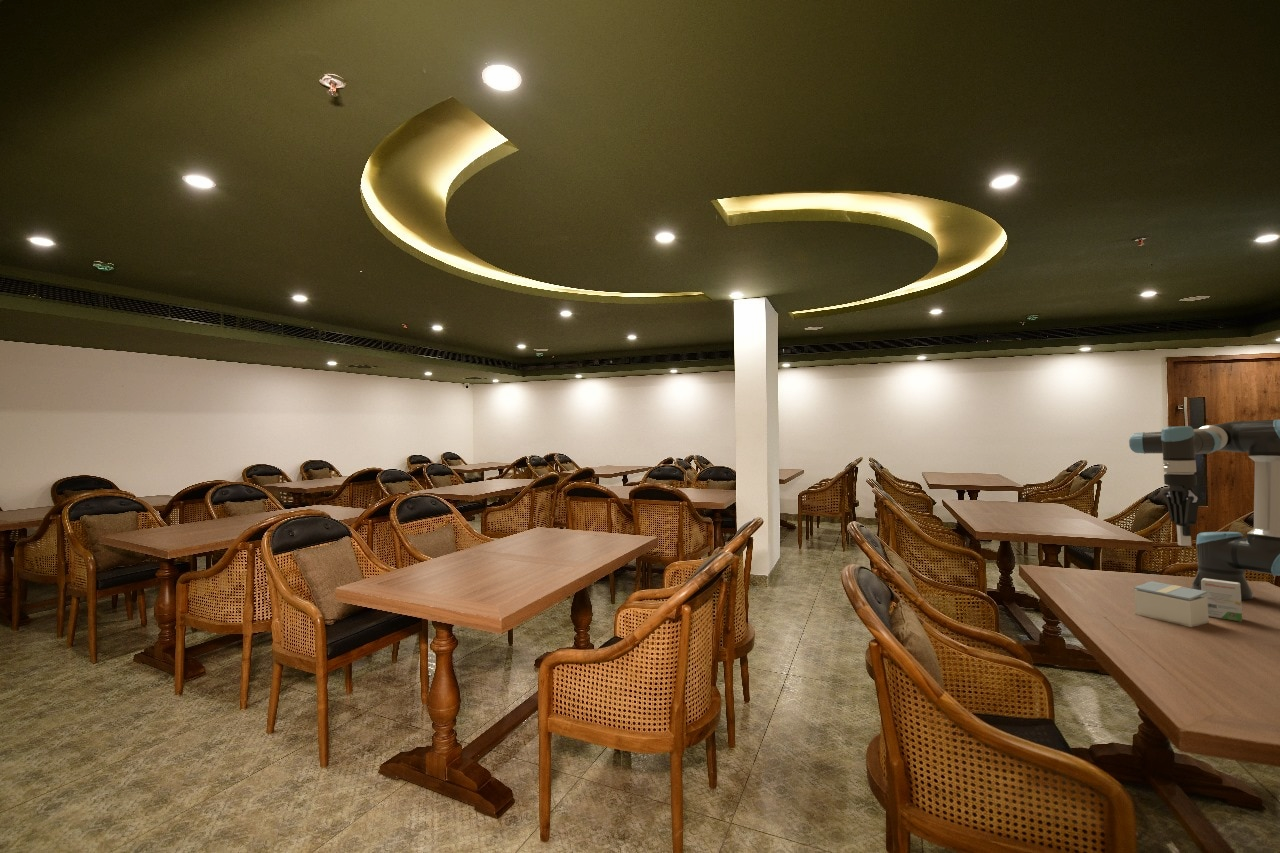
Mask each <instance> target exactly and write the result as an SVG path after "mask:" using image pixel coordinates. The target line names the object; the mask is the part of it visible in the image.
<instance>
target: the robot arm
mask: <svg viewBox="0 0 1280 853" xmlns="http://www.w3.org/2000/svg"><path fill="white" fill-rule="evenodd" d="M1128 444H1129V445H1128V446H1129V448H1130V450H1131V451H1132V452H1133V453H1137V454H1144V455H1145V454H1162V462H1163V463H1162V466H1163V472H1164V473H1165V474H1164V475H1163V480H1164V485H1165V486H1169V487H1168V491H1167V492H1163V496H1164V498H1165V502H1166V505H1167V509H1168V515H1169V519H1170V521H1171V522H1172V523H1174V524H1175V525H1176V534H1177V536H1176V537H1177V538H1176V539H1177V545H1178V546H1181V547H1182V546H1183V547H1191V546H1192V536H1191V535H1192V533H1191V532H1192V530H1191V527H1192V526H1196V525H1197V519H1198V518H1197V517H1198V512H1199V504H1200V502H1201V496H1198V495H1195V494H1194V491H1195V490H1194V488H1193V487H1195V486H1197V485H1198V480H1197V479H1198V476H1197V475H1196V474H1195V473H1197V463H1196V461H1197V460H1196V455H1208V454H1212V453H1215V452H1217V451H1220V452H1231V453H1248V458H1250V460H1252V461H1253V462H1254V485H1253V486H1254V491H1253V492H1254V493H1253V495H1254V496H1253V497H1254V500H1253V528H1252V529H1251V530H1250V531H1248V532H1247V533H1246V535H1247V536H1246V537H1243V536H1244V535H1243V534H1242V532H1237V531H1204V532H1199V533H1198V534H1197V535H1196V543H1195V545H1196V557H1197V573H1196V574H1195V577H1194V579H1193V582H1192V585H1191V586H1192V588H1191V589H1196V590H1201V580H1202V579H1203V578H1207V579H1214V580H1222V581H1230V582H1238V583H1240V589H1241V601H1245V600H1246V601H1247V600H1248V601H1249V600H1253V599H1254V595H1253V590H1252V588H1251V587H1250V585H1249V583H1248V580H1247V579H1246V576H1245V571H1249V572H1256V573H1262V574H1268V575H1273V576H1278V577H1279V576H1280V419H1277V418H1276V419H1261V420H1260V419H1259V420H1258V419H1257V420H1240V421H1239V420H1237V421H1229V422H1227V421H1226V422H1223V423H1217V424H1216V423H1215V424H1211V425H1210V424H1209V425H1203V426H1201V427H1199V428H1193V426H1191V425H1186V426H1184V425H1182V426H1179V425H1178V426H1164V427H1162V429H1161V430H1160V431H1151V432H1145V431H1144V432H1135V433H1133V434H1131V436H1130V438H1129V440H1128Z"/></svg>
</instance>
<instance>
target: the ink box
mask: <svg viewBox="0 0 1280 853" xmlns="http://www.w3.org/2000/svg"><path fill="white" fill-rule="evenodd" d="M1201 590H1202V591H1207V594H1204V595H1202V596H1203V597H1207V601H1208V617H1210V618H1211V617H1212V618H1217V619H1221V620H1229V621H1235V622H1241V623H1242V622H1243V605H1242V600H1241V589H1240V583H1238V582H1230V581H1222V580H1214V579H1207V578H1203V579H1202V580H1201Z"/></svg>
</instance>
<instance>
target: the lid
mask: <svg viewBox="0 0 1280 853" xmlns="http://www.w3.org/2000/svg"><path fill="white" fill-rule="evenodd" d="M1136 589H1137V590H1142V591H1147V592H1152V593H1156V594H1161V595H1166V596H1171V597H1176V598H1181V599H1186V600H1192V599H1194V598H1197V597H1199V596H1202V595H1204V594H1207V591H1202V590H1196V589H1192V588H1191V587H1190V588H1189V587H1185V586H1181V585H1175V584H1169V583H1163V582H1158V581H1153V580H1150V581H1147V582H1145V583H1142V584H1139V585H1135V586H1134V587H1133V590H1136Z"/></svg>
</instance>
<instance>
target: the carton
mask: <svg viewBox="0 0 1280 853" xmlns="http://www.w3.org/2000/svg"><path fill="white" fill-rule="evenodd" d="M1133 591H1134V592H1133V593H1134V612H1135V614H1134V615H1137V616H1142V617H1146V618H1152V619H1155V620H1158V621H1164V622H1168V623H1172V624H1176V625H1180V626H1185V627H1190V628H1194V627H1199V626H1202V625H1205V624H1208V623H1209V622H1210V621H1209V616H1208V601H1207V597H1203V596H1199V597H1197V598H1194V599H1192V600H1186V599H1181V598H1176V597H1171V596H1166V595H1161V594H1156V593H1152V592H1147V591H1142V590H1137V589H1133Z"/></svg>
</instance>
